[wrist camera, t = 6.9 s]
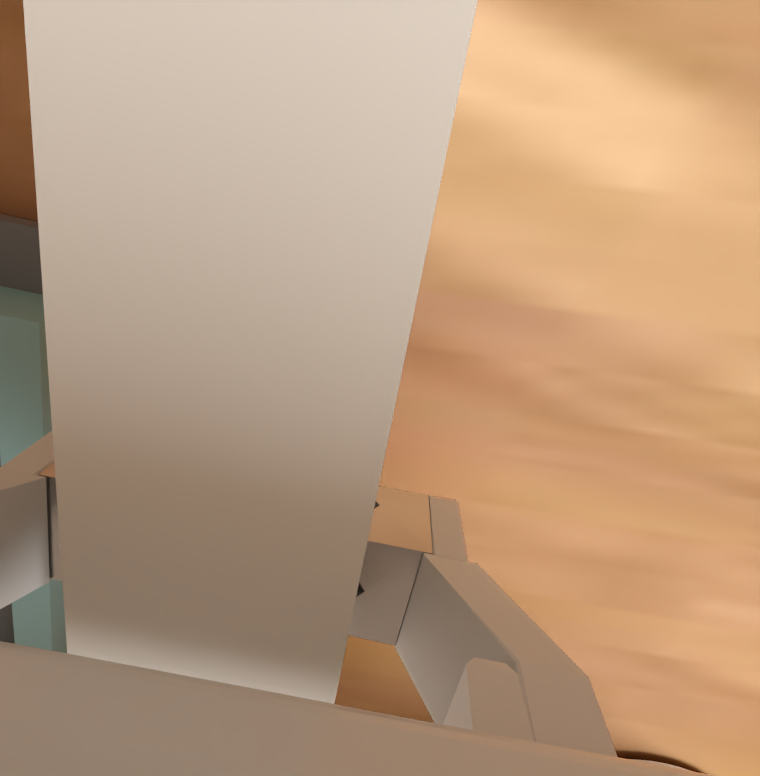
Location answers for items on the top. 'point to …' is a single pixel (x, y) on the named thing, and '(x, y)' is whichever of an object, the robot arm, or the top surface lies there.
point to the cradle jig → (25, 410)
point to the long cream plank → (230, 310)
